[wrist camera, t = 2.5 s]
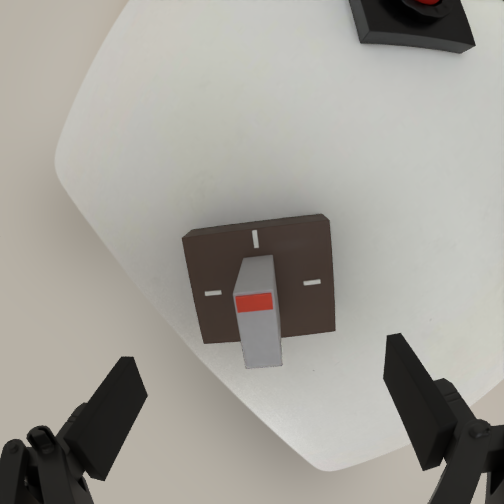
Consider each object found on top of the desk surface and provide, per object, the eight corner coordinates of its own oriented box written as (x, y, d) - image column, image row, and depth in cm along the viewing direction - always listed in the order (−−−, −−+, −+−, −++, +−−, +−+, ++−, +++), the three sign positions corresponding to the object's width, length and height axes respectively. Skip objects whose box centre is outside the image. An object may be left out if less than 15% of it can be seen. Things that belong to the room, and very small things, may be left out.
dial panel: (210, 326, 31) (203, 345, 28) (191, 229, 29) (180, 238, 25) (329, 314, 30) (336, 332, 27) (322, 213, 28) (329, 220, 24)
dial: (279, 315, 27) (282, 368, 19) (252, 318, 27) (245, 371, 20) (272, 254, 25) (273, 290, 18) (243, 257, 26) (231, 294, 18)
